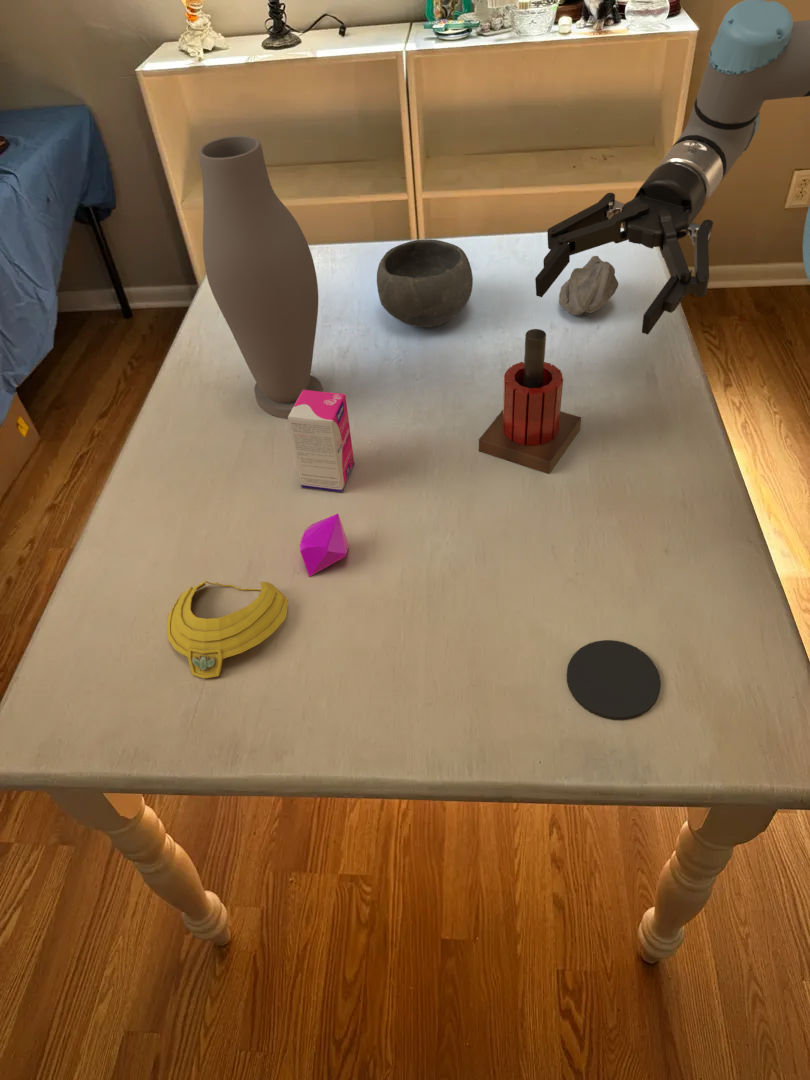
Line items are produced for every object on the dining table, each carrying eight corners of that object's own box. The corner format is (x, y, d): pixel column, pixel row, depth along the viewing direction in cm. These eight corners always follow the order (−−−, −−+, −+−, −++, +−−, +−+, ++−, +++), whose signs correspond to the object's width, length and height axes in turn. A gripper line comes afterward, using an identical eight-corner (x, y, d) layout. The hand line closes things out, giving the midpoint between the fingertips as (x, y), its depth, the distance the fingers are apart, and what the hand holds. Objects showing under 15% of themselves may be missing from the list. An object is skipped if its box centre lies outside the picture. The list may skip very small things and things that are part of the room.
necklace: (149, 615, 88) (138, 591, 84) (247, 560, 92) (239, 535, 89) (202, 689, 80) (191, 666, 77) (304, 625, 85) (298, 600, 82)
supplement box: (344, 493, 99) (331, 421, 91) (300, 488, 100) (283, 417, 92) (357, 463, 103) (345, 391, 95) (314, 459, 104) (299, 388, 96)
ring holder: (580, 429, 104) (592, 322, 93) (549, 474, 99) (557, 366, 87) (512, 409, 108) (515, 304, 97) (478, 451, 103) (478, 345, 91)
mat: (672, 664, 78) (673, 661, 78) (641, 735, 73) (642, 732, 73) (587, 630, 82) (587, 627, 82) (551, 695, 77) (552, 692, 76)
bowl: (459, 346, 120) (457, 286, 113) (368, 336, 124) (361, 277, 117) (482, 297, 129) (482, 239, 122) (397, 289, 133) (392, 232, 126)
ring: (566, 420, 103) (571, 369, 97) (544, 451, 99) (548, 400, 93) (517, 406, 106) (519, 355, 100) (493, 436, 102) (494, 385, 96)
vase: (349, 384, 115) (312, 131, 90) (302, 436, 108) (247, 176, 82) (275, 365, 120) (219, 120, 95) (225, 414, 112) (150, 162, 87)
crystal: (304, 544, 93) (297, 517, 90) (349, 539, 94) (344, 511, 90) (304, 577, 90) (298, 550, 86) (351, 571, 90) (346, 544, 87)
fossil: (555, 290, 129) (559, 243, 124) (611, 288, 128) (617, 241, 123) (560, 326, 122) (564, 279, 116) (619, 325, 121) (626, 277, 115)
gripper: (586, 138, 98) (494, 248, 91) (787, 187, 87) (699, 316, 81) (586, 190, 104) (500, 297, 98) (772, 242, 94) (690, 365, 87)
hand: (590, 306), depth 89 cm, fingers open, 13 cm apart
